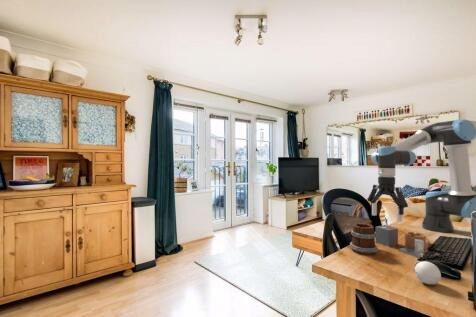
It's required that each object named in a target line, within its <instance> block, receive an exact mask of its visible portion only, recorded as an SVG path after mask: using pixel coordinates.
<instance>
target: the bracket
mask: <svg viewBox="0 0 476 317" xmlns="http://www.w3.org/2000/svg"><path fill="white" fill-rule="evenodd" d="M415 239H419V240H423V241H424V249H426V250H428V247H429V246H430V238H428V237H427V236H426V234H425V233H421V232H418V231H417V232H416V233H414V231H405V232H404V248H406V247H414V248H415Z"/></svg>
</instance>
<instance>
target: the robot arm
mask: <svg viewBox="0 0 476 317" xmlns="http://www.w3.org/2000/svg"><path fill="white" fill-rule="evenodd" d="M475 138H476V126H475V124H474V123H473V122H472V121H470V120H468V119H454V120H449V121H448V120H447V121H441V122H439V121H438V122H435V123H433V124H429V125H427V126H425V127H423V128H421V129H419V130H417V131H416V132H415V133H414V134H413V135H411V136H408V137H406V138H405V139H403V140H400V141H399V142H397V143H395V144H393V145H385V146H384V145H383V146H381V145H380V146H379V147H378V150H377V151H373V152H371V155H370V160H371V162H372V164H375V165H378V166H377V167H378V169H377V172H378V173H377V175H378V177H377V183H378V184H372V189H371V191H370V193H369V195H368V198H367V202H369V203H370V208H371V216H378V215H377V214H378V203H377V201H378V200H379V199H380V198H381V196H382V195H386V196H389V197H390V198H391V199H392V200H393V202H394V203H395V204H396V205H397V207H396V222H397V223H398V222H402V221H403V215H404V214H405V213H404V212H405V211H404V209H405V208H409V205H408V203H407V200H406V198H405V196H404V194H403V192H402V187H401V186H398V187H397V186H395V185H396V177H395V176H396V166H410V165H413V164H414V163H415V162H416V160H417V155H416V153H415V152H414V151H413V150H416V149H418V148H420V147H422V146H427V145H430V144H435V143H442V146H443V147H445V148H446V150H447V151H446V152H447V162H448V171H449V172H448V173H449V182H450V190H448V191H445V190H444V191H443V190H442V191H441V190H440V191H438V190H437V191H427V192H426V193H425V197H424V199H425V203H424V204H425V215H424V218H423V221H422V224H421V227H422V229H425V230H429V231H433V232H438V233H439V232H440V233H453V232H454V231H455V229H454V228H455V227H454V225H453V222H452V219H451V216H456V217H461V218H463V219H466V218H467V219H472V218H471V213H472V212H473V211H476V192H475V191H474V190H473V189H472V180H471V179H472V178H471V177H472V176H471V169H470V168H471V167H470V158H469V146H470V145H472V141H473V140H474V139H475Z"/></svg>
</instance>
